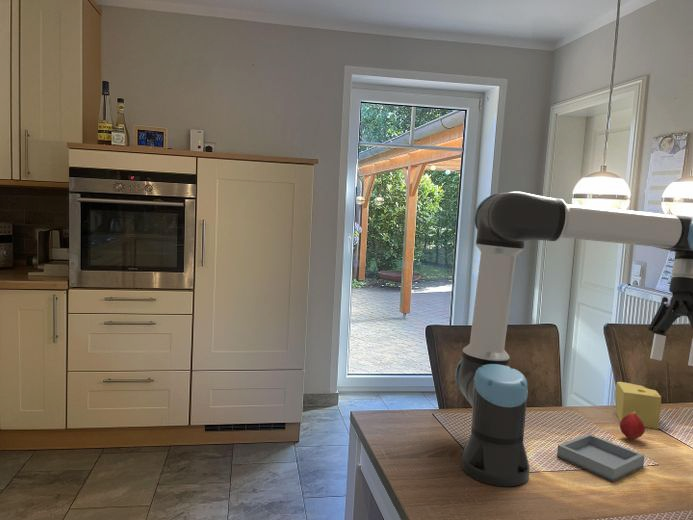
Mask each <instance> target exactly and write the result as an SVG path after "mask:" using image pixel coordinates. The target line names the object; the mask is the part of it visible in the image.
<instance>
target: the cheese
mask: <svg viewBox="0 0 693 520" xmlns="http://www.w3.org/2000/svg"><path fill="white" fill-rule="evenodd" d="M615 384H616V385H615V389H614V400H615V402H614V403H615V415H616V416H617V418H618V420H619V423H620V422H621V420H622V419H623V418H624V417H625V416H626V415H628V414H631V413H632V412H636V413H637V414H636V416H638V417H639V418H640V419H641V420H642V422H643V424H644V427H645V428H649V429H654V430H659V426H660V416H661V406H662V396H661V395H660V393H659V392H658V391H657V390H656V389H651V388H648V387H645V386H644V385H639V384H636V383H635V384H634V383H629V382H625V381H624V382H623V381H617V382H616V383H615Z"/></svg>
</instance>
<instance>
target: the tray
mask: <svg viewBox="0 0 693 520" xmlns="http://www.w3.org/2000/svg"><path fill="white" fill-rule="evenodd" d="M556 456H557V458H559V459H561V458H562V459H561V460H563V459H564V461H565V460H566V461H565V462H568V463H570V462H571V463H570V464H572V463H573V464H572V465H574V464H575V465H574V466H577V467H579V468H581V469H584V470H586V471H588V472H590V473H592V474H595V475H597V476H599V477H601V478H603V479H606V480H607V481H610V482H612V483H614V482H617V481H618V480H620V479H622V478H624V477H627V476H628V475H630V474H632V473H634V472H637V471H638V470H640V469H643V468H644V465H645V464H644V463H645V454H643V453H640V452H638V451H635V450H632V449H631V448H627V447H625V446H623V445H621V444H617V443H614V442H612V441H609V440H607V439H604V438H601V437H599V436H596V435H594V434H592V433H586V434H583V435H581V436H578V437H576V438H573V439H570V440H567V441H566V442H565V441H564V442H563V443H560V444H558V445H557V453H556Z"/></svg>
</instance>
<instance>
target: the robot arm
mask: <svg viewBox="0 0 693 520" xmlns="http://www.w3.org/2000/svg"><path fill="white" fill-rule="evenodd" d="M473 218H474V219H473V221H474V225H475V228H476V230H477V231H476V240H475V246H476V247H477V248H478V249H479V251H480V257H479V265H478V273H477V280H476V283H477V284H476V290H475V297H474V298H475V299H474V305H473V307H474V308H473V315H472V322H471V328H470V329H471V330H470V331H471V332H470V339H469V344H468V345H466V346H464V348H463V349H462V355H461V359H460V360H459V361H458V362H457V365H456V368H455V374H454V375H455V382H456V385H457V387H458V389H459V391H460V393H461V394H462V395H463V396H464V397H465V399H466V400H467V402H468V403H469V404H470V406H471V407H472V413H471V415H472V416H471V426H470V427H471V431H470V435H469V437H468V440H467V441H466V444H465V447H464V449H463V451H462V454H461V461H460V462H461V469H462V470H463V472H464V473H465V474H467V475H468V476H469V477H471V478H472V479H474V480H476V481H478V482H481V483H484V484H487V485H491V486H497V487H516V486H520V485H523V484H525V483H527V481H529V478H530V464H529V460H528V456H527V451H526V447H525V442H524V436H525V424H526V412H527V402H528V401H527V400H528V395H529V391H528V390H529V389H528V380H527V378H526V377H525V375H524V374H523V373H522V372H521V371H519V370H518V369H516V368H511V367H510V365H509V364H510V355H509V354H508V352H507V351H506V350H505V346H506V337H507V332H508V331H507V330H508V322H509V316H510V306H511V300H512V292H513V291H512V290H513V283H514V275H515V267H516V260H517V259H516V258H517V256H518V255H519V254H520V253H521V252H524V248H525V242H528V241H531V242H532V241H545V242H546V241H547V242H557V241H558V240H560V239H561V238H562V239H571V240H573V239H574V240H583V241H591V242H594V241H595V242H603V243H604V242H605V243H611V244H612V243H615V244H626V245H635V246H642V247H643V246H644V247H645V246H646V247H653V248H657V249H661V250H667V251H670V252H674V253H675V254H674V260H673V265H672V270H671V276H672V277H671V278H670V282H669V289H668V290H669V293H671V294H672V295H671V297H666V296H663V297H661V303H660V305H659V308H657V310H656V313H655V315H654V317H653V319H652V321H651V322H650V324H649V326H648V331H649V332H652V333H653V337H652V342H651V345H652V346H651V352H650V356H649V358H650V359H652V360H657V361H661V362H662V360H663V356H664V351H665V345H666V338H667V334H666V333H667V331H668V330H669V329H670V328H671V326H673V324H675V322H676V321H677V320H678V318H681V317H687V319H688V321H689V323H690V326H691V328H692V329H693V216H685V215H675V214H668V213H667V214H666V213H656V212H655V213H654V212H649V211H648V212H647V211H638V210H637V211H636V210H630V209H629V210H628V209H618V208H608V207H598V206H587V205H579V204H578V205H577V204H570V203H569V204H568V203H566V201H565V200H564V199H563V198H556V197H548V196H543V195H537V194H535V193H534V194H533V193H532V194H531V193H527V192H523V191H508V192H498V193H494V194H491V195H489V196H487V197H485V198H484V199H483V200H482V201H480V203H479V204H478V206H477V207H476V210H475V212H474V216H473ZM687 362H688V364H687V365H688V366H691V367H693V338H692V339H691V345H690V351H689V358H688V361H687Z"/></svg>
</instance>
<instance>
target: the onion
mask: <svg viewBox="0 0 693 520" xmlns="http://www.w3.org/2000/svg"><path fill="white" fill-rule="evenodd" d="M636 414H637V413H636V412H632V413H631V414H628V415H626V416H625V417H624V418H623V419H622V420H621V422H620V421H619V429H620V431H621V433H622V434H623V436H625V437H626V438H627V439H628V440H630V441H635V440H637V439H639V438H640V437H643V435H644V434H645V430H646V429H645V428H646V427H644V424H643V422H642V420H641V419H640V418H639V417H638V416H636Z"/></svg>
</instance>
